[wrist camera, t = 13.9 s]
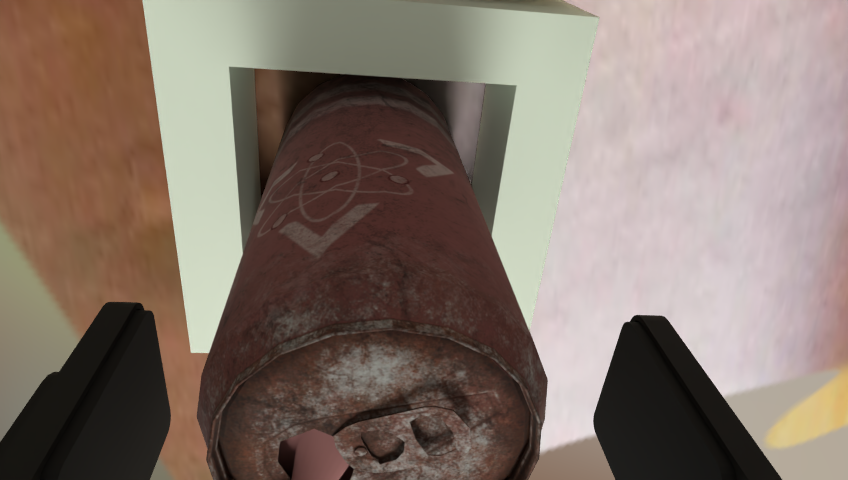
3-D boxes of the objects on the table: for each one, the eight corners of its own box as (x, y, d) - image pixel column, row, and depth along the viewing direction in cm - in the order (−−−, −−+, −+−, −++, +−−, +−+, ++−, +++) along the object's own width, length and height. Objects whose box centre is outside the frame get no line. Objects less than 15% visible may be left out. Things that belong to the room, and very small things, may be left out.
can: (251, 181, 22) (115, 529, 10) (338, 32, 19) (301, 241, 7) (389, 253, 24) (420, 612, 12) (482, 126, 21) (640, 411, 9)
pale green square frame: (557, -2, 19) (599, 17, 16) (501, 293, 25) (524, 354, 22) (182, -35, 18) (140, -21, 14) (215, 288, 24) (191, 352, 20)
